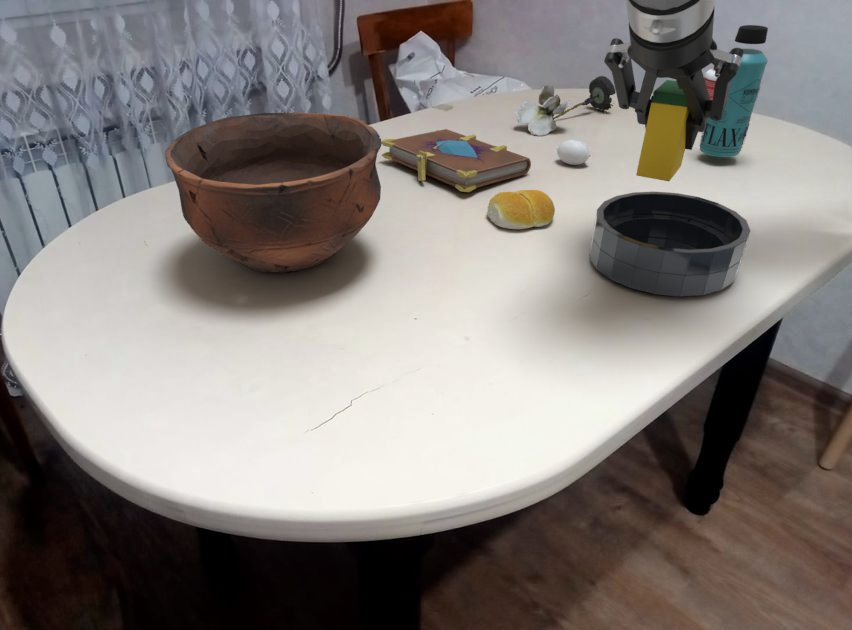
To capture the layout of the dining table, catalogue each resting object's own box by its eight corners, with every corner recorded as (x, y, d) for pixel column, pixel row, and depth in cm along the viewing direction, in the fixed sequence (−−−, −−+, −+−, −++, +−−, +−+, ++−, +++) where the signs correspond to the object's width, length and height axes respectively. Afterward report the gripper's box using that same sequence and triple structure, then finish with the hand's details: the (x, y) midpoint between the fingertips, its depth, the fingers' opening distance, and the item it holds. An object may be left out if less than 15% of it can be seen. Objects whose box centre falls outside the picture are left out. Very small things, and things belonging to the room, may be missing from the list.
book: (432, 142, 121) (433, 114, 118) (532, 180, 105) (536, 149, 102) (359, 158, 113) (359, 128, 110) (456, 201, 97) (458, 168, 94)
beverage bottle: (688, 159, 108) (721, 26, 97) (707, 150, 112) (741, 20, 100) (727, 169, 104) (766, 31, 92) (746, 159, 108) (786, 25, 96)
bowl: (154, 303, 76) (120, 176, 67) (226, 213, 95) (207, 107, 87) (368, 314, 72) (361, 183, 64) (396, 220, 92) (394, 109, 83)
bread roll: (564, 225, 90) (568, 197, 87) (504, 235, 87) (506, 207, 85) (534, 202, 96) (537, 175, 94) (478, 211, 94) (480, 184, 91)
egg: (560, 157, 111) (563, 134, 109) (594, 164, 108) (597, 140, 106) (549, 163, 108) (552, 140, 106) (583, 171, 105) (587, 147, 103)
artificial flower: (620, 121, 130) (636, 73, 122) (531, 156, 122) (542, 108, 114) (589, 99, 134) (602, 52, 126) (502, 132, 127) (510, 84, 119)
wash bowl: (745, 253, 82) (760, 207, 78) (719, 315, 70) (735, 266, 67) (612, 225, 89) (620, 182, 86) (569, 277, 78) (577, 231, 74)
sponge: (681, 166, 83) (701, 83, 77) (669, 181, 79) (690, 95, 73) (648, 160, 85) (666, 79, 79) (635, 175, 81) (653, 91, 75)
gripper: (569, 39, 66) (595, 153, 86) (756, 55, 58) (735, 175, 79) (594, -28, 66) (614, 101, 87) (783, -21, 58) (755, 119, 79)
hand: (672, 136), depth 83 cm, fingers closed on sponge, 4 cm apart
